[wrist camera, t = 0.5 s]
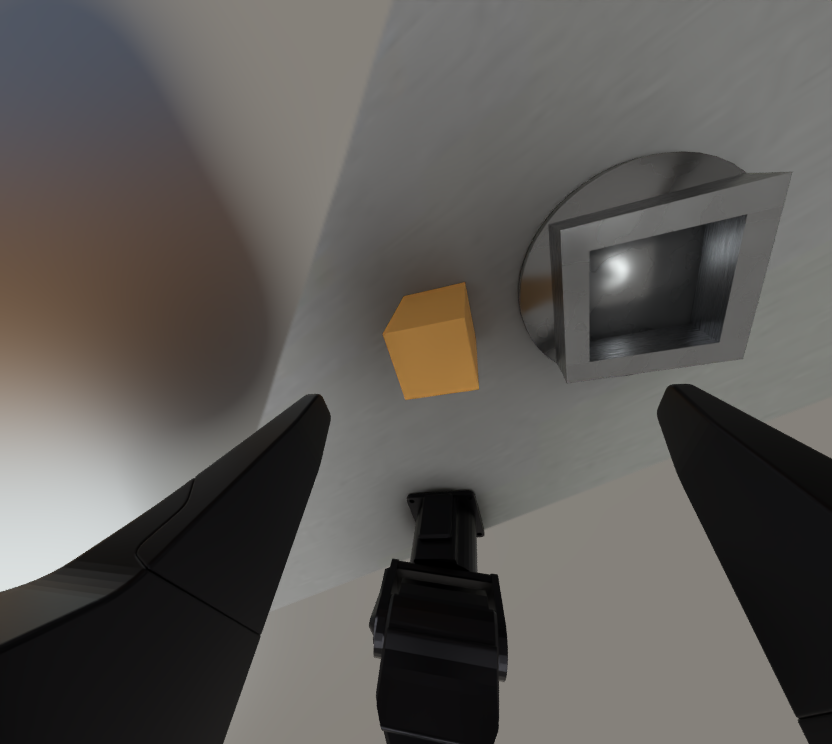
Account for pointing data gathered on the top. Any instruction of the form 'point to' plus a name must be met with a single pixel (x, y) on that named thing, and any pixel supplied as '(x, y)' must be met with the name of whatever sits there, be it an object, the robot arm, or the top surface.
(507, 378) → the top surface
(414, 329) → the orange rectangular block
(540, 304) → the rosette collar
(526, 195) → the top surface
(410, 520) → the top surface
